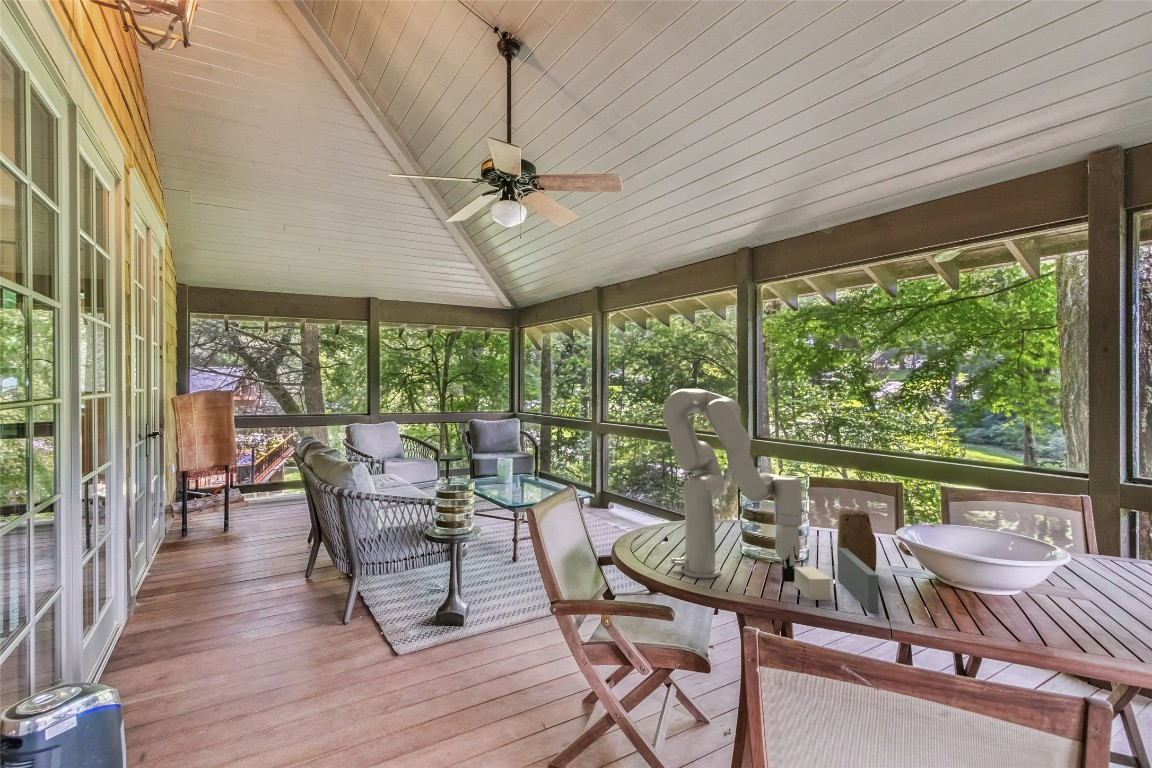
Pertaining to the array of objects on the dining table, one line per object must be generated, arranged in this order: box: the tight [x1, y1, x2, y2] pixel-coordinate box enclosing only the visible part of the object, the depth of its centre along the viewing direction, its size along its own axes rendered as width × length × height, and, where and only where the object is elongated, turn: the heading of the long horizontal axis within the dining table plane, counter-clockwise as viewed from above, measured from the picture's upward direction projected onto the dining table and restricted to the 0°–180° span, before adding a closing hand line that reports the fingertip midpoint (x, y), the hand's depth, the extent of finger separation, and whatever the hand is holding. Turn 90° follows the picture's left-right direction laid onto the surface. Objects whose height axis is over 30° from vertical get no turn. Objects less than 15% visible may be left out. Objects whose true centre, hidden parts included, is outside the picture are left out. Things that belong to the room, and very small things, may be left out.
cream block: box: [794, 566, 832, 601], centre depth 157 cm, size 6×10×6 cm, turn 1°
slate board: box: [837, 548, 879, 614], centre depth 155 cm, size 2×24×10 cm, turn 172°
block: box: [836, 509, 877, 573], centre depth 173 cm, size 11×8×20 cm
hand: (788, 580), depth 158 cm, fingers closed
